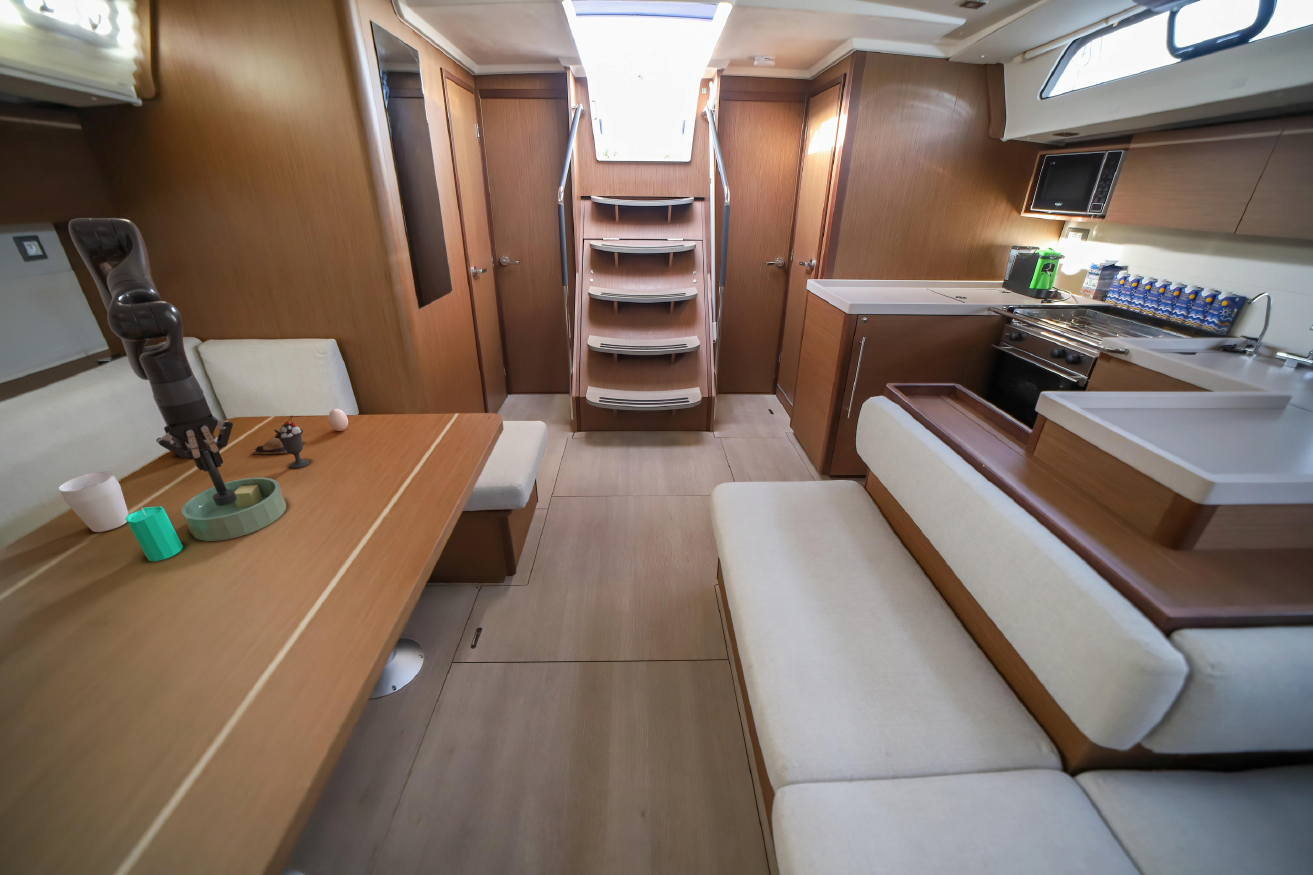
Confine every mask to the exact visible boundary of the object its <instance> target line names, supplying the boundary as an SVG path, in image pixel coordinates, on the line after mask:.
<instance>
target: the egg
mask: <svg viewBox="0 0 1313 875" xmlns="http://www.w3.org/2000/svg"><path fill="white" fill-rule="evenodd" d="M327 421H328V424H329V426H330V428H331V429H332V430H334V431H335V432H336V431H337V432H343V431H345V430H346V429H347V428H348V426H349V419H348V416H347V414H346V413H345V412H344V411H342V409H339V408H333V409H331V410H330V411H329V413H328V417H327Z"/></svg>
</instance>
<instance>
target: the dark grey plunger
mask: <svg viewBox="0 0 1313 875" xmlns="http://www.w3.org/2000/svg"><path fill="white" fill-rule="evenodd" d="M200 455H201V456H202V457H203V459H204V461H205V463H206V465H207V468H208V470H209V471H207V473H208V475H209V478H210V480H211V483H212V484H213V487H214V486H215V489H216V491H217V493H216V494H214V495H213V499H214V502H215V504H216V505H218V506H223V505H227V504H230V503H233V502H234V501H236V499H237V497H236V494H235V492H234V490H227V489H226V486H225V484H224V483H225V482H224V480H223V477H222V475H221V472H220V471H219V467H217V466H216V464H215V461H214V459H213V457H212V454H211V452H210V450H209V449H206V448H204V449H201V450H200Z"/></svg>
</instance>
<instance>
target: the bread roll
mask: <svg viewBox="0 0 1313 875" xmlns="http://www.w3.org/2000/svg"><path fill="white" fill-rule="evenodd" d="M254 450H255V451H254V455H269V454H270V455H277V454H289V453H288V452H287V451H286V450H285V448H284V446H283V444H282V443H281V441H280V440H279V439H277V438H275V437H272V438H270V439H268V440H267V441H266V442H265V443H264V444H262V445H258V446H256V448H254Z"/></svg>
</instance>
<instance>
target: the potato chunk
mask: <svg viewBox="0 0 1313 875" xmlns="http://www.w3.org/2000/svg"><path fill="white" fill-rule="evenodd" d="M235 494H236V497H237V499H236V501H235V503H236V506H237V508H240V507H251V506H254V505H256V504H257V503H258V502H259V501H260V500H261V499H262V498H263V497H262V494H261V492H260V489H259V487H258V485H248V486H240V487H239V488H238V489H237V490H236V491H235Z"/></svg>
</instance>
